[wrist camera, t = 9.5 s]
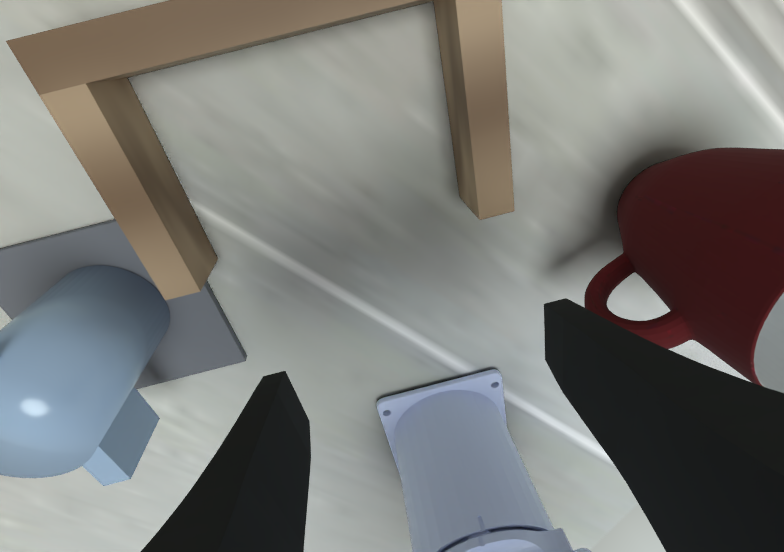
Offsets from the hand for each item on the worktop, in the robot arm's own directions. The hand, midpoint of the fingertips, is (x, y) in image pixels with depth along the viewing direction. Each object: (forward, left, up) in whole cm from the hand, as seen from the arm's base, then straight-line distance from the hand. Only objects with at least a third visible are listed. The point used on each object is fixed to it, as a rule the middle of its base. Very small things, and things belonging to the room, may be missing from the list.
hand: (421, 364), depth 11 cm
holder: (+4, +2, -10) cm, 11 cm away
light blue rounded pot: (-1, +14, -10) cm, 17 cm away
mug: (-3, -13, -10) cm, 17 cm away
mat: (-1, +14, -10) cm, 17 cm away
